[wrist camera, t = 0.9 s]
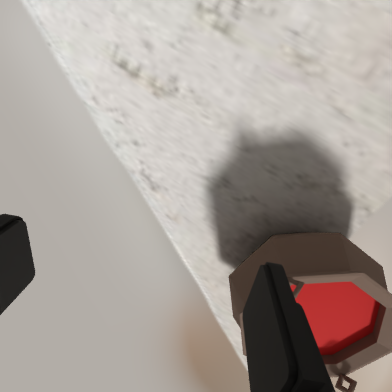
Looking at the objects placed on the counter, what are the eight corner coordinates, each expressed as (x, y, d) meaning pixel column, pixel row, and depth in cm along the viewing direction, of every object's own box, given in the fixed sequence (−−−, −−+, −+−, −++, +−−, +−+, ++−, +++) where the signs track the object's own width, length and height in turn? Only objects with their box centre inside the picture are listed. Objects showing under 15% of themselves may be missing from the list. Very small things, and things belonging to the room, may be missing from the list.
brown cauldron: (373, 284, 44) (453, 383, 30) (255, 321, 51) (273, 418, 36) (333, 181, 36) (416, 246, 22) (200, 241, 43) (193, 323, 28)
